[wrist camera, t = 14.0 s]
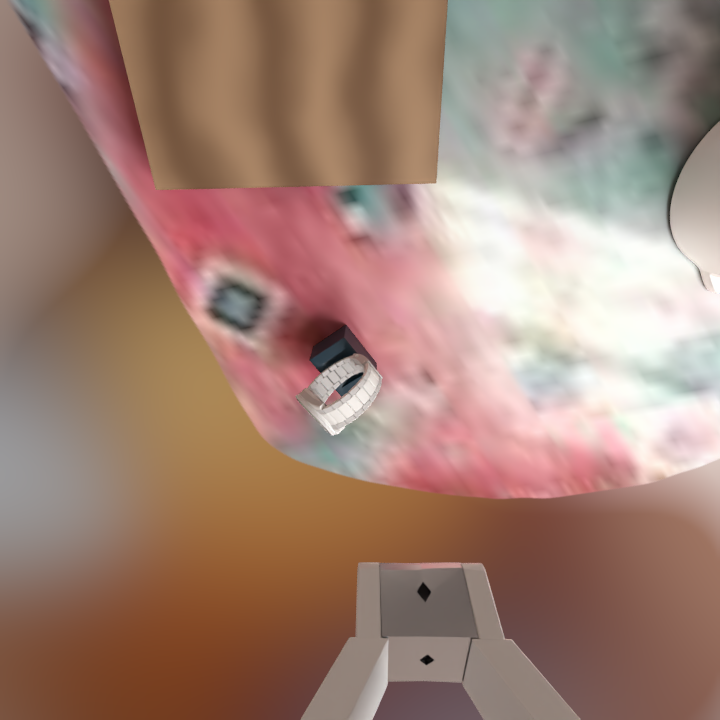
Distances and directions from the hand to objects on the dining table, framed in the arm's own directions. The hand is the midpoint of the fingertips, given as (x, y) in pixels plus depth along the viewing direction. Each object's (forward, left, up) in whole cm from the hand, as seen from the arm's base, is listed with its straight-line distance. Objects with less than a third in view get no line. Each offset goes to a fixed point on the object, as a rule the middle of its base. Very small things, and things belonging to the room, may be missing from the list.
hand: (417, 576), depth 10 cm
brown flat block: (+7, -16, -31) cm, 36 cm away
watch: (+4, +10, -31) cm, 33 cm away
